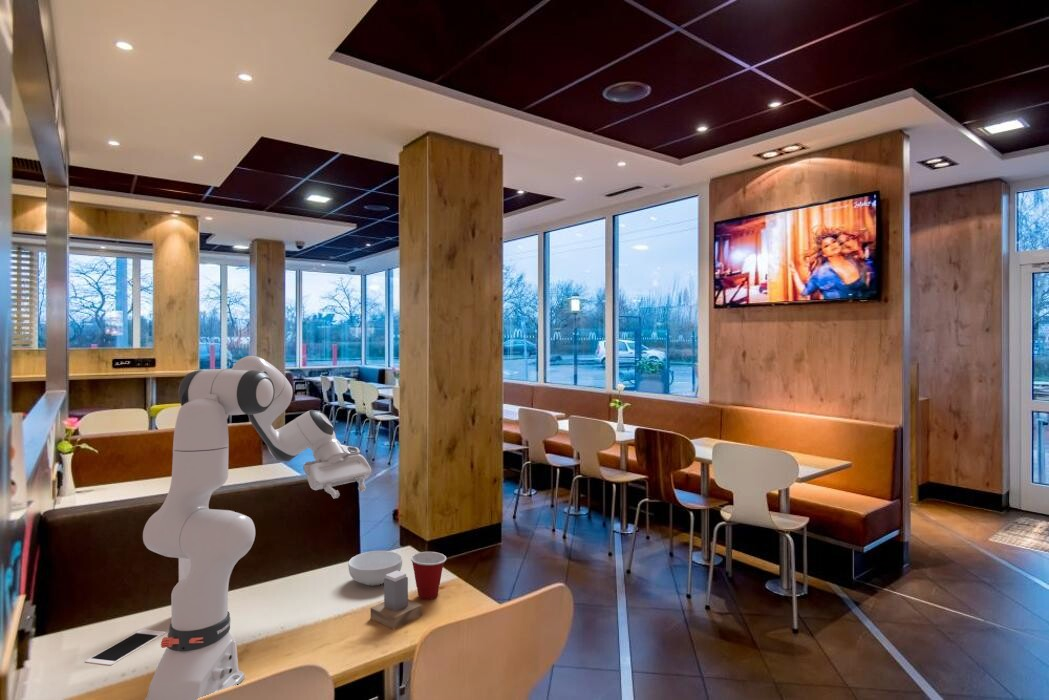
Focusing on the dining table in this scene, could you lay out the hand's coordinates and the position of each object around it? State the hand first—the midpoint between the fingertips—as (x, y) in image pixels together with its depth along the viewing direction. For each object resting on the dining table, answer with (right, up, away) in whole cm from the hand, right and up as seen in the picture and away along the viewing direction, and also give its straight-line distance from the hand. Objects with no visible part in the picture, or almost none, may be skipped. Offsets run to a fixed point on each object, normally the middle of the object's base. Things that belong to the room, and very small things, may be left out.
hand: (350, 493), depth 171 cm
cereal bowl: (+5, -32, +12) cm, 34 cm away
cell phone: (-48, -32, -28) cm, 64 cm away
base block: (+17, -31, -13) cm, 38 cm away
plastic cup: (+24, -31, +1) cm, 39 cm away
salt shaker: (+17, -28, -13) cm, 35 cm away
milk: (-42, -32, -10) cm, 53 cm away
